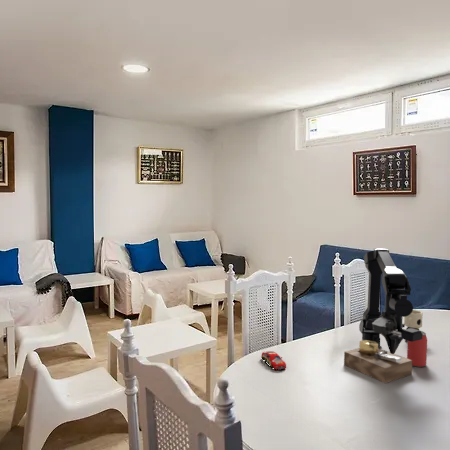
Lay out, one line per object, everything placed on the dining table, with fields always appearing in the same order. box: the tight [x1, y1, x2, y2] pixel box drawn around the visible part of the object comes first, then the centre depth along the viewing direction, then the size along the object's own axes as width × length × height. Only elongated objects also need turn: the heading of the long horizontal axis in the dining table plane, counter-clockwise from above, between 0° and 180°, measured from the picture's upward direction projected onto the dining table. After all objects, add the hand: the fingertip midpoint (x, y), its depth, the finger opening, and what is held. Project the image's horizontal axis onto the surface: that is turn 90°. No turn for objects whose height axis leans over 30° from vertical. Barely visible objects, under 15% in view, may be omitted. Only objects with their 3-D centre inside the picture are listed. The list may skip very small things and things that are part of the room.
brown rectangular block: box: [343, 347, 413, 384], centre depth 153 cm, size 18×14×7 cm
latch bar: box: [378, 352, 402, 362], centre depth 149 cm, size 8×3×2 cm, turn 32°
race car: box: [260, 350, 287, 371], centre depth 158 cm, size 13×5×4 cm, turn 18°
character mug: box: [403, 309, 423, 330], centre depth 185 cm, size 11×7×13 cm, turn 140°
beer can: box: [406, 330, 428, 368], centre depth 159 cm, size 7×7×12 cm
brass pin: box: [358, 339, 378, 356], centre depth 157 cm, size 6×6×8 cm
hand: (392, 353), depth 148 cm, fingers closed
